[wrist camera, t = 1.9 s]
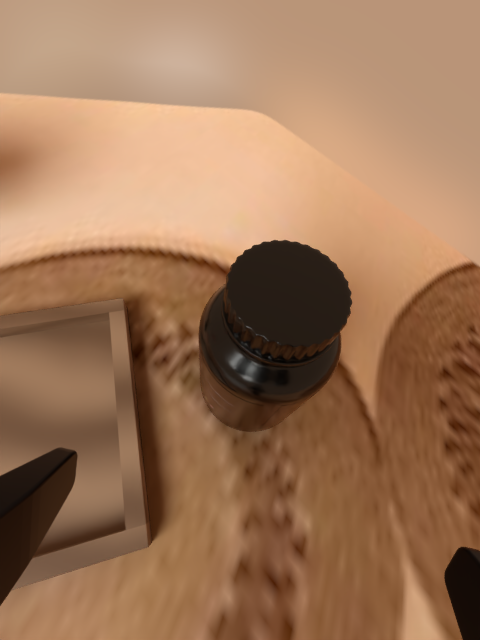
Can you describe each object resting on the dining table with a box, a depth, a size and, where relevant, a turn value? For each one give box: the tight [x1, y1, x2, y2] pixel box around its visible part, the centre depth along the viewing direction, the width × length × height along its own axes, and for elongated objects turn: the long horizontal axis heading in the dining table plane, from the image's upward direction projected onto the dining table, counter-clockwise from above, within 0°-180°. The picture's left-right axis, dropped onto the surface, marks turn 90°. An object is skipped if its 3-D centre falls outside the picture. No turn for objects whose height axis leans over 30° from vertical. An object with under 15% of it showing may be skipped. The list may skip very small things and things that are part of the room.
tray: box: [0, 298, 152, 590], centre depth 18 cm, size 15×15×2 cm
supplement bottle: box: [199, 240, 352, 432], centre depth 17 cm, size 7×7×12 cm
